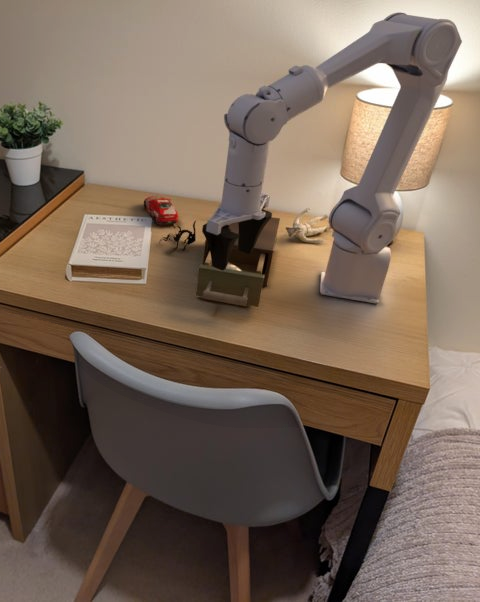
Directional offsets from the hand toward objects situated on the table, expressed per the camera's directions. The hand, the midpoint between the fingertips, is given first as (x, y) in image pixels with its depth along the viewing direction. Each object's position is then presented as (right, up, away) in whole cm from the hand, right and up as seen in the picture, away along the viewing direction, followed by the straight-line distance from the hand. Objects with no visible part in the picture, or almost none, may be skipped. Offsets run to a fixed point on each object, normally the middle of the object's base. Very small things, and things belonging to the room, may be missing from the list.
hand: (232, 259), depth 92 cm
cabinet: (+6, +1, +18) cm, 19 cm away
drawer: (+2, -5, +8) cm, 10 cm away
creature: (-5, +4, +25) cm, 25 cm away
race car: (-6, +13, +38) cm, 40 cm away
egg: (+2, -3, +8) cm, 9 cm away
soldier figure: (+23, +7, +28) cm, 37 cm away
